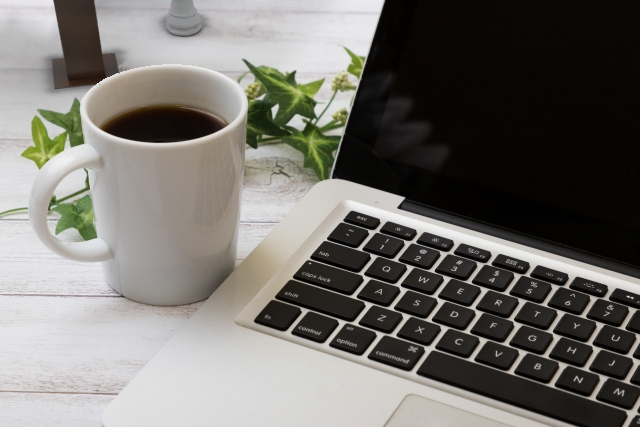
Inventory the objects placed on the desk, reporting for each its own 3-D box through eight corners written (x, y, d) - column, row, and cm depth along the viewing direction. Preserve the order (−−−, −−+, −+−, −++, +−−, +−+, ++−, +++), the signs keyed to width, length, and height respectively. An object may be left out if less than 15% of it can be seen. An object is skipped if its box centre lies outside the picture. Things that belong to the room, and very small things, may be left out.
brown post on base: (52, 53, 90) (20, -108, 79) (112, 47, 92) (90, -111, 81) (57, 113, 80) (21, -62, 69) (125, 105, 82) (102, -67, 70)
